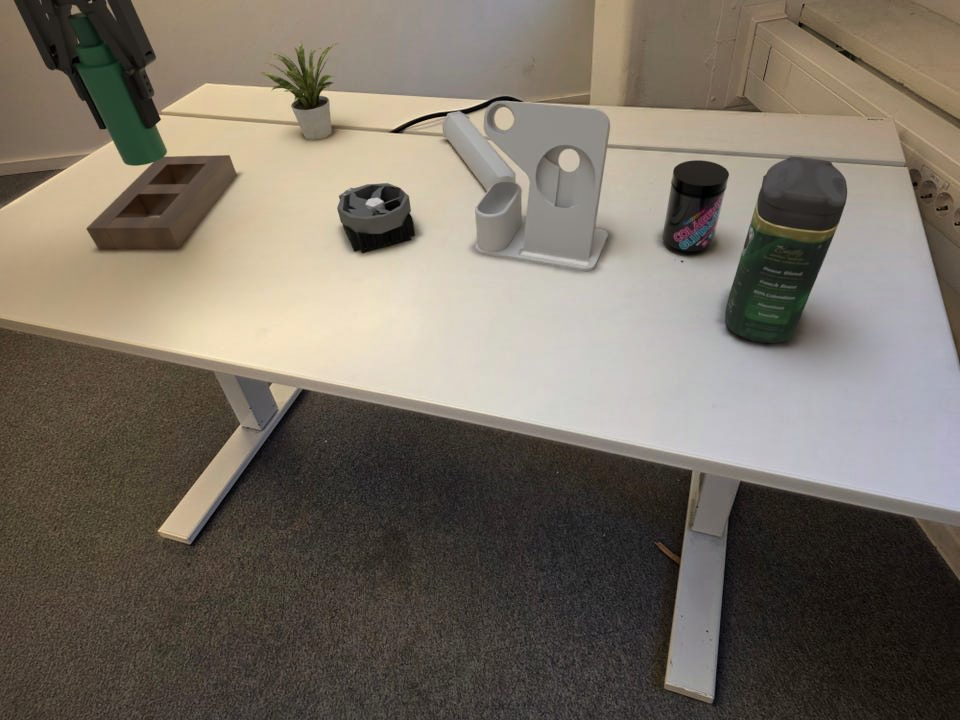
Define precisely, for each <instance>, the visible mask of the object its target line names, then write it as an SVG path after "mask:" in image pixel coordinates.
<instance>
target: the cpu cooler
mask: <svg viewBox="0 0 960 720" xmlns="http://www.w3.org/2000/svg"><path fill="white" fill-rule="evenodd" d="M338 198H339V201H338V203H337V208H336V209H337V213H338V217H339V221H340V223H341V224H342V228H343V230H344V232H345V235H346V237H347V238H348V241H349V243H350V245H351V247H352V250H353V252H359V251H361V253H362V254H365V253H367V252H372V251H373V252H374V251H376V250H380V249H383V248H387V247H390V246H394V245H397V244H400V243H405V242H409V241H412V237H415V236H416V232H415V226H414V220H413V216H412V215H411V212H412V208H411V202H410V196H409V194H408V193H406V192H405V191H404V189H402V188H401V187H399V186H397V185H394V184H390V183H388V182H385V183H384V182H383V183H368V184H364V185H360V186H357V187H350V188H348V189H346V190H345V191H344V192H342V193H341V194H339V195H338Z"/></svg>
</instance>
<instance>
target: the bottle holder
mask: <svg viewBox="0 0 960 720" xmlns="http://www.w3.org/2000/svg"><path fill="white" fill-rule="evenodd" d="M237 176H238V173H237V172H236V168H235V165H234V163H233V160H232V158H231V155H230V154H224V155H222V154H219V155H216V154H215V155H177V156H164V157H163V158H161V159H159V160H157V161H155V162H153V163H150V164H149V165H148V167H147V168H146V169H145V170H144V171H143V172H142V173H141V174H140V175H139V176H138V177H137V178H136V179H135V180H133V182H132V183H130V184H129V185H128V187H127V188H125V189H124V190H123V191H122V192H121V194H119V195H118V196H117V197H116V198H115V199H114V200H113V201H112V202H111V203H110V204H109V205H108V206H107V207H106V208H105V209H104V210H103V211H102V212H101V213H100V214H99V215H98V216H97V217H96V218H95V219H94V220H93V221H92V222H91V223H90V224H89V225H88V226H87V227H86V228H85V230H86V231H87V233H88V234H89V236H90V238H91V239H92V241H93V242H94V245H95V246H96V248H97V249H98V250H99V251H102V250H104V251H106V250H107V251H110V250H111V251H116V250H117V251H119V250H121V251H123V250H124V251H125V250H127V251H128V250H131V251H132V250H137V251H139V250H141V251H142V250H146V251H147V250H151V251H152V250H180V249H181V248H182V247H183V245H184V244H185V243H186V241H188V239H189V238H190V236H191V235H192V233H194V231H195V230H196V229H197V227H198V226H199V225H200V223H201V222H203V220H204V219H205V217H206V216H207V215H208V213H209V212H210V211H211V209H212V208H213V207H214V205H215V204H216V203H217V202H218V201H219V200H220V198H221V196H222V195H223V194H224V193H225V191H226V190H227V189H228V188H229V186H230V185H231V184H232V183H233V181H234V180H235V178H236V177H237ZM149 215H150V217H148V216H149ZM152 215H159V216H155V217H153V216H152Z"/></svg>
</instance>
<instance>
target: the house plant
mask: <svg viewBox="0 0 960 720" xmlns="http://www.w3.org/2000/svg"><path fill="white" fill-rule="evenodd" d="M337 45H339V42H337V43H333V44H331V45H329V46H327V47H326V48H325V49H324V50H323V51H322V53H321V54H320V56H319V58H318V60H317V64H316V69H315V66H314V54H315V52H317V51H319V50H321V49H322V47H318V48H316V49H314V50H313V49H311V50H310V51H309V55H308V66H307V65H306V57H305V56H306V55H305V47H304V45H303V41H300V42H299V45H298V48H296V47H294V50H295V52H296V55H297V57H296V58H297V61H298V64H299V67H300V69H299V68H298V66H297V65H296V64H295V63H294V61H293V60H292V59H290V58H289V57H288V56H287V55H285V53H282V52H281V51H278V53H279V54H277V53H273V52H266V53H268V54H269V55H273V56H274V57H276V58H275V59H277V60H280V61H281V62H282V63H283V64H284V65H285V66H286V67H287V69H284V70H283V69H281V68H279V67H277V66H276V65H274V64H271V63H268V62H264V64H265V65H269V66H271V67H273V68H275V69H277V70H279V71H280V72H281V73H282V74H284V75H285V76H286V77H287V78H288V79H289V80H290V81H291V82H292V83H291V82H290V81H288V80H286V79H285V78H282V77H280V76H278V75H275V74H273V73H270V72H263V71H262V72H260V73H261V74H262V75H264V76H266V77H268V78H269V79H270V80H272V81H273V82H274V83H276V84H278V85H275V86H274V87H273V88H271V91H270V92H272V91H274V90H276V89H285V90H284V92H286V93H287V92H290V93H291V94H293V96H294V101H293V102H292V103H291V105H290V108H291V109H292V113H293V114H294V116H295V118H296V121H297V124H298V125H299V127H300V130H301V132H302V134H303V137H304V138H305V139H306V140H310V141H315V140H323V139H326V138H328V137H329V136H331V134H332V133H333V132H332V131H333V130H332V118H331V117H332V116H331V105H330V99H329V98H328V97H327V96H324V95H321V93H322V92H323V90H325V89H328V90H330V85H332V84H334V82H333V81H327V80H329V79H330V78H335V76H332V75H331V74H330V75H329V74H325V75H322V76H321V78H320V75H321V74H322V71H323V70H324V67H325V65H326V64H327V61H329V59H330V57H328V58H327V59H326V60H325V61H324V59H325V57H326V55H328V52H329V51H330V50H331V49H332V48H333V47H334V46H337ZM282 55H283V56H282ZM323 61H324V63H323ZM322 63H323V65H322ZM321 66H322V67H321ZM314 69H315V73H314ZM293 84H294V85H293Z"/></svg>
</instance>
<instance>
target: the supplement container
mask: <svg viewBox="0 0 960 720" xmlns="http://www.w3.org/2000/svg"><path fill="white" fill-rule="evenodd" d="M729 177H730V173H729V170H728V169H727V168H725V166H723V165H721V164H719V163H717V162H714V161H709V160H699V159H698V160H696V159H694V160H693V159H692V160H685V161H683V162H680V163H679V164H677V165H676V166H674V168H673V171H672V176H671V181H670V190H669V196H668V202H667V207H666V212H665V213H666V214H665V219H664V223H663V230H662V236H661V237H662V241H663V244H664V245H665V247H666V248H667V249H669V250H670V251H672V252H674V253H676V254H679V255H686V256H695V255H699V254H702V253H705V252H707V251H708V250H709V249H710V248H711V246H712V245H713V243H714V239H715V234H716V230H717V226H718V223H719V218H720V214H721V210H722V206H723V201H724V197H725V193H726V191H727V190H726V189H727V186H728V181H729Z"/></svg>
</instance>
